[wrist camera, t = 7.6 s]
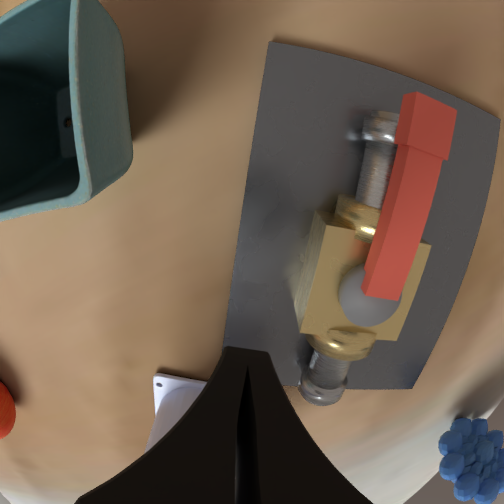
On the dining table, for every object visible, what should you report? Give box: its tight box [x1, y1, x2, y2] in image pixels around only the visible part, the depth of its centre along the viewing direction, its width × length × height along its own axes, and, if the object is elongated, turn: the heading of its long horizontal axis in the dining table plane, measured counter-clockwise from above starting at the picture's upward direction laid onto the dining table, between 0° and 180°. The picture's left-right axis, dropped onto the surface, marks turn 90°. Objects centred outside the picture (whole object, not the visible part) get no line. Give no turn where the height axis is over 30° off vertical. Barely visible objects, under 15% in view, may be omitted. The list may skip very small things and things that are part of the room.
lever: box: [338, 92, 457, 327], centre depth 13 cm, size 11×3×2 cm, turn 169°
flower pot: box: [0, 0, 133, 221], centre depth 12 cm, size 9×9×9 cm
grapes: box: [438, 418, 504, 504], centre depth 20 cm, size 12×7×12 cm, turn 75°
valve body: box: [222, 41, 501, 406], centre depth 17 cm, size 22×16×4 cm
